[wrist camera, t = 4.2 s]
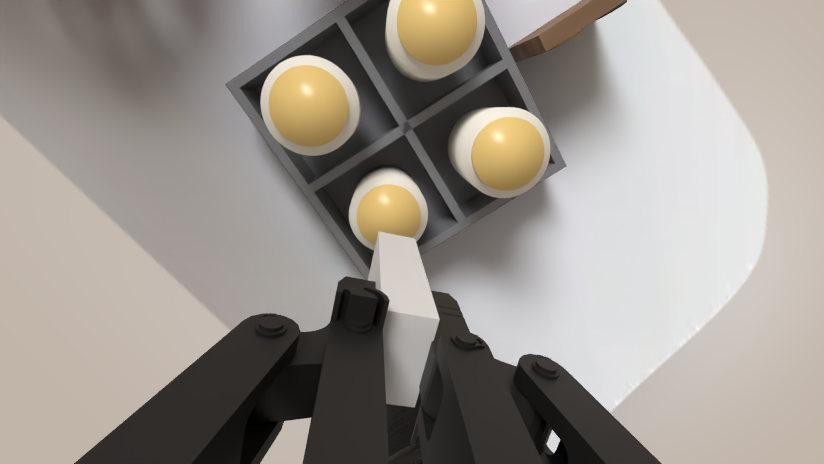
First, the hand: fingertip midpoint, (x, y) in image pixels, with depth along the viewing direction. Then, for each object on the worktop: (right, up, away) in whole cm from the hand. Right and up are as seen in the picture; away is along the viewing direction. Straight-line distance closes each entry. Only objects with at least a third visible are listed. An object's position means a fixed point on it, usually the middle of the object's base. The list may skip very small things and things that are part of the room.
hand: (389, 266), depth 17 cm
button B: (+2, +13, +9) cm, 16 cm away
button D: (+6, +7, +11) cm, 14 cm away
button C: (-1, +4, +14) cm, 15 cm away
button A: (-5, +9, +9) cm, 14 cm away
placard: (+11, +16, +13) cm, 23 cm away
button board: (0, +9, +14) cm, 17 cm away
